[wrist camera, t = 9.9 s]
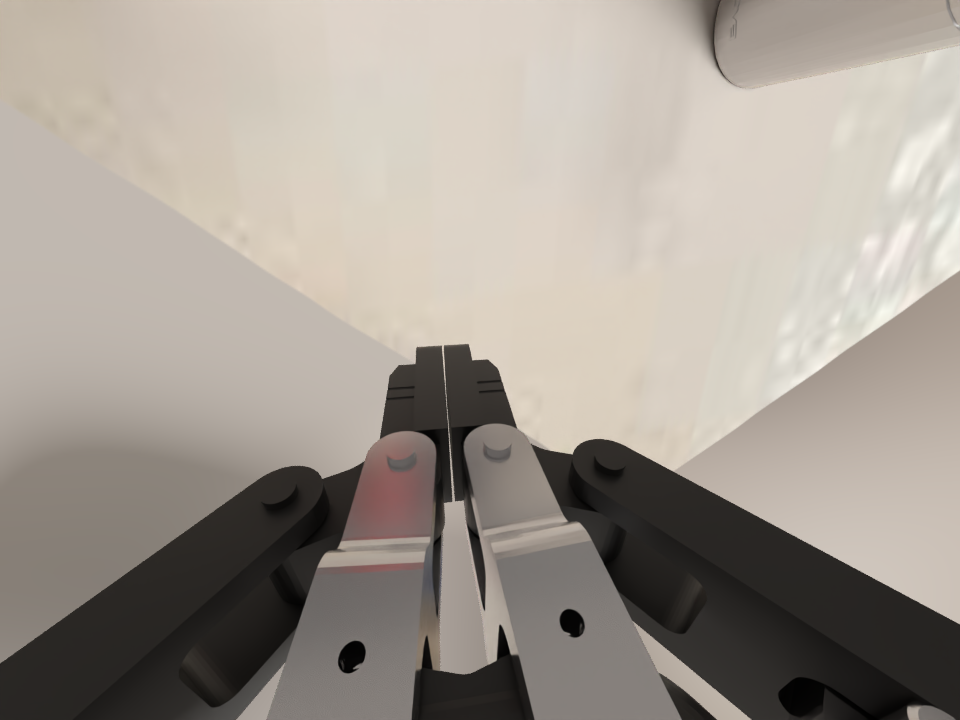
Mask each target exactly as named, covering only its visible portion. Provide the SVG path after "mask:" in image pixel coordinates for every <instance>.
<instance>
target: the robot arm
mask: <svg viewBox="0 0 960 720" xmlns="http://www.w3.org/2000/svg"><path fill="white" fill-rule="evenodd" d="M714 45H715V54H716V58H717V61H718V64H719V67H720V69H721V71H722V73H723V74H724V76H725V77H726V78H727V79H728V80H729V81H730V82H731V83H733V84H734V85H736V86H739V87H741V88H752V89H753V88H758V87H763V86H768V85H772V84H777V83H782V82H787V81H792V80H797V79H803V78H807V77H812V76H817V75H822V74H826V73H831V72H836V71H841V70H845V69H850V68H855V67H860V66H865V65H869V64H874V63H879V62H884V61H888V60H893V59H898V58H903V57H907V56H912V55H917V54H922V53H926V52H931V51H936V50H941V49H945V48H950V47H955V46H960V0H721V1H720V4H719V7H718V11H717V17H716V22H715V32H714ZM444 359H445V376H446V394H447V407H446V395H445V382H444V369H443V356H442V346H428V347H417V348H416V364H412V365H399V366H398V367H397V368H396V369H395V370H394V372H393V373H392V374H391V375H390V377H389V384H388V391H387V397H386V403H385V409H384V416H383V422H382V428H381V435H380V440H378V441H377V442H376V443H375V444H374V445H373V446H372V447H371V448H370V450H369V451H368V453H367V456H366V459H365V461H364V462H363V463H361V464H360V465H358V466H356V467H354V468H352V469H350V470H347V471H344V472H342V473H339V474H336V475H333V476H330V477H327V478H324V479H322V478H321V476H320V475H319V473H318V472H316V471H315V470H314V469H311V468H309V467H305V466H290V467H285V468H281V469H278V470H276V471H273V472H271V473H269V474H267V475H265V476H263V477H262V478H260V479H259V480H257V481H256V482H254V483H253V484H251V485H250V486H249V487H247V488H246V489H245V490H243V491H242V492H240V493H239V494H238V495H236V496H235V497H233V498H232V499H230V500H229V501H228V502H226V503H225V504H224V505H222V506H221V507H219V508H218V509H216V510H215V511H214V512H212V513H211V514H209V515H208V516H207V517H205V518H204V519H203V520H201V521H199V522H198V523H197V524H195V525H194V526H192V527H191V528H190V529H188V530H187V531H185V532H184V533H183V534H181V535H180V536H179V537H177V538H176V539H174V540H173V541H171V542H170V543H169V544H167V545H166V546H164V547H163V548H162V549H160V550H159V551H157V552H156V553H155V554H153V555H152V556H151V557H149V558H148V559H146V560H145V561H143V562H142V563H141V564H139V565H138V566H137V567H135V568H134V569H132V570H131V571H129V572H128V573H127V574H125V575H124V576H122V577H121V578H120V579H118V580H117V581H115V582H114V583H113V584H111V585H110V586H108V587H107V588H106V589H104V590H103V591H101V592H100V593H99V594H97V595H96V596H94V597H93V598H92V599H90V600H89V601H87V602H86V603H85V604H83V605H82V606H80V607H79V608H77V609H76V610H75V611H73V612H72V613H70V614H69V615H68V616H66V617H65V618H64V619H62V620H61V621H59V622H58V623H56V624H55V625H54V626H52V627H51V628H49V629H48V630H47V631H45V632H44V633H43V634H41V635H40V636H38V637H37V638H35V639H34V640H33V641H31V642H30V643H28V644H27V645H26V646H24V647H23V648H21V649H20V650H19V651H17V652H16V653H14V654H13V655H12V656H10V657H9V658H7V659H6V660H5V661H3V662H2V663H0V720H236V719H237V718H238V717H239V716H240V715H241V713H242V712H243V711H244V710H245V709H246V707H247V706H248V705H249V704H250V703H251V702H252V700H253V699H254V698H255V697H256V696H257V695H258V693H259V692H260V691H261V690H262V689H263V687H264V686H265V685H266V684H267V683H268V682H269V681H270V679H271V678H272V677H273V676H274V675H275V674H276V672H277V671H278V670H279V669H280V668H281V666H282V665H283V664H284V663H285V666H284V668H283V671H282V675H281V677H280V680H279V684H278V686H277V689H276V692H275V695H274V699H273V701H272V704H271V708H270V710H269V714H268V716H267V720H717V719H715V718H714V717H713V716H712V715H711V714H710V713H709V712H708V711H707V710H705V709H704V708H703V707H702V706H701V705H700V704H699V703H698V702H697V701H696V700H695V699H693V698H692V697H691V696H690V695H689V694H688V693H686V692H685V691H684V690H683V689H681V688H680V687H679V686H677V685H676V684H675V683H673V682H672V681H671V680H669V679H668V678H667V677H665V676H663V675H662V674H660V673H658V671H657V669H656V667H655V665H654V663H653V661H652V659H651V657H650V655H649V653H648V651H647V649H646V647H645V645H644V643H643V641H642V639H641V637H640V635H639V633H638V631H637V629H636V627H635V626H634V623H633V621H634V622H635V623H636V624H637V625H638V626H640V627H641V628H642V629H643V630H644V631H646V632H647V633H648V634H649V635H650V636H652V637H653V638H654V639H655V640H656V641H658V642H659V643H660V644H661V645H663V646H664V647H665V648H666V649H667V650H669V651H670V652H671V653H672V654H673V655H675V656H676V657H677V658H678V659H679V660H681V661H682V662H683V663H684V664H685V665H687V666H688V667H689V668H690V669H691V670H693V671H694V672H695V673H696V674H697V675H699V676H700V677H701V678H702V679H704V680H705V681H706V682H707V683H708V684H709V685H711V686H712V687H713V688H714V689H716V690H717V691H718V692H719V693H720V694H722V695H723V696H724V697H725V698H726V699H728V700H729V701H730V702H731V703H732V704H734V705H735V706H736V707H737V708H738V709H740V710H741V711H742V712H743V713H744V714H746V715H747V716H748V717H749V718H751V719H752V720H960V624H958V623H956V622H954V621H952V620H950V619H949V618H947V617H945V616H943V615H941V614H939V613H937V612H935V611H934V610H932V609H930V608H928V607H926V606H924V605H922V604H920V603H919V602H917V601H915V600H913V599H911V598H909V597H907V596H905V595H903V594H902V593H900V592H898V591H896V590H894V589H892V588H890V587H889V586H887V585H885V584H883V583H881V582H879V581H877V580H875V579H873V578H872V577H870V576H868V575H866V574H864V573H862V572H860V571H858V570H857V569H855V568H853V567H851V566H849V565H847V564H845V563H844V562H842V561H839V560H838V559H836V558H834V557H832V556H830V555H829V554H826V553H825V552H823V551H821V550H819V549H817V548H815V547H813V546H811V545H810V544H808V543H806V542H804V541H802V540H800V539H798V538H797V537H795V536H793V535H791V534H789V533H787V532H785V531H783V530H782V529H780V528H778V527H776V526H774V525H772V524H770V523H768V522H766V521H765V520H763V519H761V518H759V517H757V516H755V515H753V514H752V513H750V512H748V511H746V510H744V509H742V508H740V507H738V506H737V505H735V504H733V503H731V502H729V501H727V500H725V499H723V498H722V497H720V496H718V495H716V494H714V493H712V492H710V491H708V490H707V489H704V488H703V487H701V486H699V485H697V484H695V483H693V482H692V481H689V480H688V479H686V478H684V477H682V476H680V475H678V474H677V473H675V472H673V471H671V470H669V469H667V468H665V467H663V466H662V465H660V464H658V463H656V462H654V461H652V460H650V459H648V458H646V457H645V456H643V455H641V454H639V453H637V452H635V451H633V450H631V449H630V448H628V447H626V446H624V445H622V444H620V443H617V442H614V441H610V440H604V439H593V440H588V441H585V442H583V443H581V444H580V445H578V446H577V447H576V449H575V450H574V452H573V455H572V454H566V453H560V452H554V451H548V450H544V449H541V448H539V447H536V446H534V445H532V444H531V443H530V442H529V440H528V438H527V437H526V436H525V434H524V433H522V432H521V431H520V430H518V429H517V427H516V423H515V420H514V417H513V414H512V411H511V408H510V405H509V402H508V399H507V396H506V392H505V390H504V386H503V383H502V381H501V377H500V374H499V371H498V368H497V367H495V366H494V365H493V364H492V363H491V362H490V361H489V360H473V361H472V357H471V352H470V348H469V344H461V345H444ZM447 409H448V420H449V433H450V445H451V458H452V470H453V482H454V494H455V501H462V500H464V506H465V515H466V535H467V539H468V545H469V550H470V556H471V561H472V566H473V572H474V577H475V583H476V588H477V593H478V599H479V604H480V610H481V615H482V621H483V629H484V638H485V646H486V654H487V661H488V665H487V666H485V667H483V668H481V669H479V670H477V671H476V672H473V673H471V674H465V675H462V674H455V673H449V672H443V671H440V608H441V607H440V606H441V579H442V552H443V529H444V525H445V513H444V503H446V502H452V488H451V470H450V452H449V435H448V420H447Z"/></svg>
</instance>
